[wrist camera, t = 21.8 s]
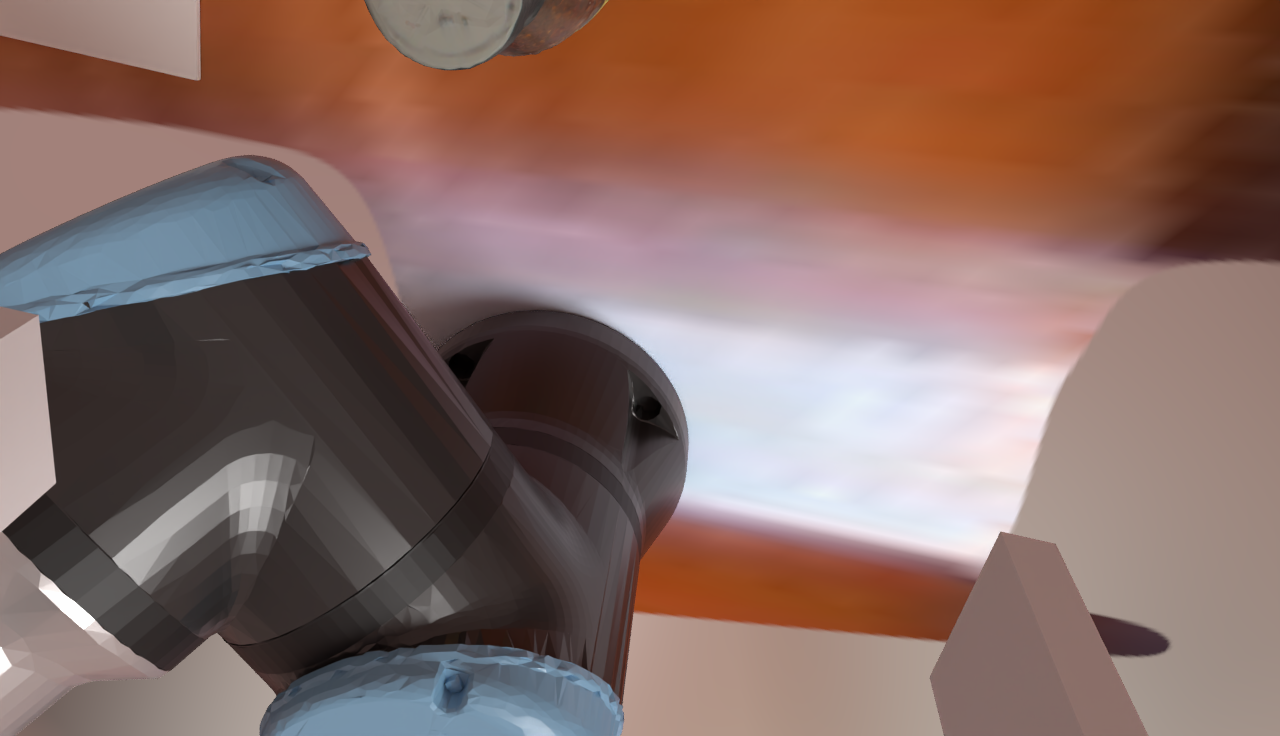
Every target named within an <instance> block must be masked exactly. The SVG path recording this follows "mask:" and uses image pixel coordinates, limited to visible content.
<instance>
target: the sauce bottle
mask: <svg viewBox="0 0 1280 736" xmlns="http://www.w3.org/2000/svg"><path fill="white" fill-rule="evenodd" d="M364 1H365V3H366V6H367V8H368V10H369V12H370V14H371V16H372V18H373V20H374V22H375V24H376V26H377V27H378V29H379V30H380V31H381V33H382V34H383V36H384V37H385V38H386V39H387V40H388V41H389V42H390V43H391V44H392V45H394V46H395V47H396V48H397V50H398V51H399V52H400V53H402V54H403V55H404V56H406V57H408V58H410V59H412V60H413V61H415V62H417V63H419V64H422V65H424V66H427V67H431V68H436V69H441V70H463V69H471V68H473V67H475V66H477V65H479V64H482V63H484V62H487V61H488V60H490V59H492V58H493V57H495V56H496V55H498V54H500V55H504V56H521V55H523V56H525V55H530V54H535V55H536V54H539V53H540V52H541V51H543V50H546V49H549V48H552V47H553V46H556V45H558V44H559V43H561V42H562V41H564V40H565V39H566V38H568V37H569V36H571V35H572V34H573V33H574V32H576V31H578V30H579V29H581V28H582V27H583V26H584V25H586V24H587V23H588V22H589V21H590V20H591V19H592V18H593V17H594V16H595V15H596V14H597V13H598V12H599V11H600V10H601V8H602V7H603V6H604V5H605V4H606V3H607V2H608V0H364Z"/></svg>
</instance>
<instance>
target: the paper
mask: <svg viewBox="0 0 1280 736" xmlns="http://www.w3.org/2000/svg"><path fill="white" fill-rule="evenodd" d="M0 36H5V37H9V38H14V39H18V40H22V41H27V42H31V43H35V44H40V45H44V46H48V47H53V48H57V49H61V50H66V51H70V52H74V53H79V54H83V55H87V56H92V57H96V58H100V59H105V60H109V61H114V62H118V63H122V64H127V65H131V66H135V67H140V68H144V69H148V70H153V71H157V72H161V73H166V74H170V75H174V76H179V77H183V78H187V79H192V80H196V81H198V80H201V62H200V0H0Z"/></svg>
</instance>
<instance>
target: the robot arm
mask: <svg viewBox="0 0 1280 736" xmlns="http://www.w3.org/2000/svg"><path fill="white" fill-rule="evenodd" d="M370 255H371V253H370V252H369V250H368V247H367V246H366V245H365V244H364V243H361V242H356V241H355V240H354V239H353V238H352V237H351V235H350V234H349V233H348V232H347V231H346V229H345V228H344V227H343V226H342V225H341V223H340V222H339V221H338V220H337V219H336V217H335V216H334V215H333V214H332V212H331V211H330V210H329V209H328V208H327V206H326V205H325V204H324V203H323V201H322V200H321V199H320V198H319V197H318V195H317V194H316V193H315V192H314V191H313V190H312V188H311V187H310V186H309V185H308V183H307V182H306V181H305V180H304V179H303V178H302V177H301V176H300V175H299V174H298V173H297V172H296V171H294V170H293V169H292V168H290V167H289V166H287V165H285V164H284V163H282V162H280V161H277V160H275V159H271V158H267V157H263V156H255V155H253V156H252V155H244V156H235V157H230V158H226V159H222V160H219V161H215V162H212V163H209V164H206V165H203V166H201V167H198V168H195V169H193V170H190V171H187V172H184V173H181V174H179V175H176V176H173V177H171V178H168V179H166V180H163V181H161V182H158V183H156V184H153V185H151V186H148V187H146V188H143V189H141V190H139V191H136V192H134V193H131V194H129V195H127V196H124V197H122V198H120V199H117V200H115V201H112V202H110V203H108V204H106V205H103V206H101V207H99V208H96V209H94V210H92V211H90V212H87V213H85V214H83V215H80V216H78V217H76V218H74V219H72V220H70V221H67V222H65V223H63V224H61V225H59V226H57V227H54V228H52V229H50V230H48V231H46V232H44V233H42V234H39V235H37V236H35V237H33V238H31V239H29V240H27V241H25V242H23V243H21V244H19V245H17V246H15V247H13V248H11V249H9V250H7V251H5V252H3V253H1V254H0V736H16V735H17V734H18V733H19V732H20V731H22V730H23V729H24V728H25V727H26V726H28V725H29V724H30V723H31V722H32V721H34V720H35V719H36V718H37V717H38V716H40V715H41V714H42V713H43V712H44V711H45V710H47V709H48V708H49V707H50V706H51V705H53V704H54V703H55V702H56V701H58V700H59V699H60V698H61V697H62V696H63V695H65V694H66V693H67V692H68V691H70V690H71V689H72V688H73V687H74V686H77V685H80V684H84V683H88V682H91V681H102V680H103V681H104V680H130V679H158V678H160V677H162V676H163V675H165V674H166V673H168V672H169V671H170V670H172V669H173V668H174V667H175V666H176V665H178V664H179V663H180V662H181V661H182V660H183V659H185V658H186V657H187V656H188V655H189V654H190V653H191V652H193V651H194V650H195V649H196V648H197V647H198V646H200V645H201V644H202V643H203V642H204V641H205V640H206V639H208V638H209V637H210V636H211V635H214V634H215V633H218V634H219V635H220V636H221V637H222V638H223V639H224V641H225V642H226V643H228V644H229V645H230V646H231V647H232V648H233V649H234V650H235V651H236V652H237V653H238V654H239V655H240V657H241V658H242V659H243V660H244V661H245V662H246V663H247V664H248V665H249V666H250V667H251V668H252V669H253V670H254V671H255V672H256V673H257V674H258V675H259V676H260V677H261V678H262V679H263V680H264V681H265V682H266V683H267V684H268V685H269V687H270V688H271V689H272V690H273V691H274V692H275V694H276V698H275V699H274V701H273V702H272V703H271V704H270V705H269V706H268V708H267V710H266V712H265V714H264V716H263V718H262V721H261V724H260V736H620V735H621V733H622V729H623V723H624V712H623V711H622V708H623V706H622V703H623V694H624V686H625V677H626V670H627V660H628V653H629V644H630V636H631V628H632V620H633V612H634V603H635V596H636V588H637V581H638V573H639V564H640V560H641V559H642V557H643V556H644V554H645V553H646V552H647V550H648V549H649V548H650V546H651V545H652V543H653V542H654V541H655V539H656V538H657V537H658V535H659V534H660V532H661V531H662V530H663V528H664V527H665V526H666V524H667V523H668V521H669V520H670V518H671V517H672V515H673V513H674V511H675V509H676V507H677V504H678V502H679V499H680V497H681V494H682V491H683V487H684V483H685V478H686V471H687V460H688V445H689V441H688V428H687V422H686V418H685V414H684V410H683V407H682V405H681V402H680V399H679V397H678V395H677V393H676V391H675V389H674V387H673V386H672V384H671V382H670V380H669V379H668V378H667V376H666V375H665V373H664V372H663V371H662V369H661V368H660V367H659V366H658V365H657V363H656V362H655V361H654V360H653V359H652V358H651V357H650V356H649V355H648V354H647V353H646V352H644V351H643V350H642V349H641V348H640V347H639V346H637V345H636V344H635V343H633V342H632V341H631V340H629V339H628V338H626V337H625V336H623V335H621V334H620V333H618V332H616V331H615V330H613V329H611V328H609V327H607V326H605V325H602V324H600V323H597V322H595V321H592V320H589V319H586V318H583V317H579V316H576V315H572V314H566V313H561V312H553V311H519V312H512V313H506V314H502V315H498V316H494V317H491V318H488V319H485V320H482V321H480V322H478V323H475V324H473V325H471V326H469V327H467V328H466V329H464V330H462V331H461V332H459V333H458V334H456V335H455V336H453V337H452V338H451V339H450V340H448V341H447V342H446V343H445V344H444V345H443V346H442V347H441V348H440V349H439V350H438V351H437V350H436V349H435V348H434V346H433V345H432V344H431V342H430V341H429V340H428V338H427V337H426V336H425V334H424V333H423V332H422V330H421V329H420V328H419V326H418V325H417V323H416V322H415V321H414V319H413V318H412V317H411V315H410V314H409V313H408V311H407V310H406V309H405V307H404V306H403V305H402V303H401V302H400V301H399V299H398V298H397V297H396V295H395V294H394V293H393V291H392V290H391V289H390V287H389V286H388V285H387V283H386V282H385V280H384V279H383V278H382V276H381V275H380V274H379V272H378V271H377V270H376V268H375V267H374V266H373V264H372V263H371V262H370V260H369V259H368V256H370ZM930 680H931V684H932V688H933V692H934V697H935V701H936V705H937V708H938V713H939V717H940V720H941V725H942V729H943V733H944V736H1148V734H1147V732H1146V730H1145V728H1144V726H1143V724H1142V722H1141V720H1140V718H1139V715H1138V714H1137V711H1136V709H1135V707H1134V705H1133V703H1132V701H1131V699H1130V697H1129V695H1128V693H1127V691H1126V689H1125V686H1124V684H1123V682H1122V680H1121V678H1120V676H1119V674H1118V672H1117V670H1116V668H1115V666H1114V664H1113V662H1112V660H1111V657H1110V655H1109V653H1108V651H1107V649H1106V647H1105V645H1104V643H1103V641H1102V639H1101V637H1100V635H1099V633H1098V631H1097V628H1096V626H1095V624H1094V622H1093V620H1092V618H1091V616H1090V614H1089V612H1088V610H1087V608H1086V606H1085V604H1084V602H1083V600H1082V597H1081V596H1080V593H1079V591H1078V589H1077V587H1076V585H1075V583H1074V581H1073V579H1072V577H1071V575H1070V573H1069V571H1068V569H1067V566H1066V564H1065V562H1064V560H1063V558H1062V556H1061V554H1060V552H1059V550H1058V548H1057V546H1056V544H1053V543H1049V542H1045V541H1040V540H1035V539H1031V538H1027V537H1022V536H1018V535H1013V534H1009V533H1005V532H1000V534H999V536H998V538H997V540H996V542H995V544H994V546H993V548H992V550H991V552H990V554H989V556H988V558H987V560H986V563H985V565H984V567H983V569H982V571H981V573H980V575H979V577H978V579H977V581H976V583H975V585H974V587H973V589H972V591H971V593H970V595H969V597H968V600H967V602H966V604H965V606H964V608H963V610H962V612H961V614H960V616H959V618H958V620H957V622H956V624H955V626H954V628H953V630H952V632H951V634H950V637H949V639H948V641H947V643H946V645H945V647H944V649H943V651H942V653H941V655H940V657H939V659H938V661H937V663H936V665H935V668H934V669H933V672H932V674H931V676H930Z"/></svg>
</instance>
